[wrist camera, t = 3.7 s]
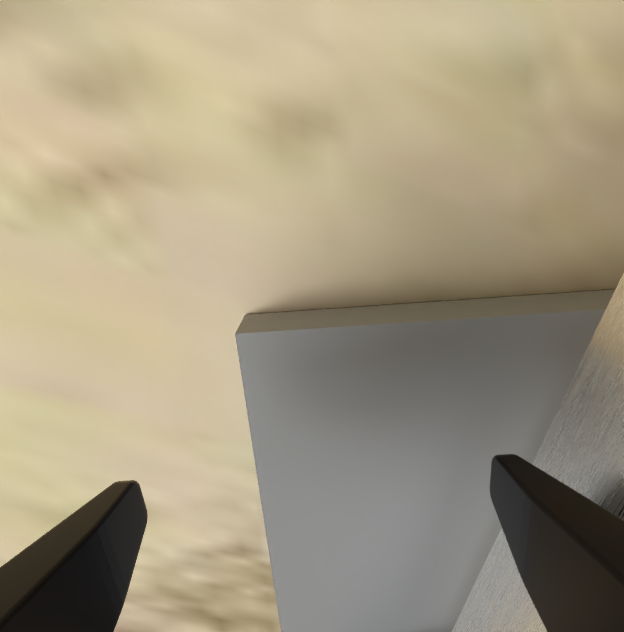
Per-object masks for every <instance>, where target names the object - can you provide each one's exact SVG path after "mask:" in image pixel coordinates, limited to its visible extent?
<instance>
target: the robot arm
mask: <svg viewBox="0 0 624 632" xmlns="http://www.w3.org/2000/svg"><path fill="white" fill-rule="evenodd" d="M490 496H491V500H492V503H493V505H494V508H495V511H496V513H497V516H498V519H499V521H500V524H501V526H502V529H503V532H504V534H505V537H506V540H507V542H508V545H509V548H510V550H511V553H512V556H513V558H514V561H515V563H516V566H517V569H518V571H519V574H520V576H521V578H522V581H523V583H524V585H525V587H526V589H527V592H528V594H529V596H530V598H531V600H532V602H533V604H534V606H535V608H536V610H537V612H538V614H539V616H540V618H541V620H542V622H543V624H544V626H545V628H546V630H547V632H624V520H622V519H621V518H619V517H618V516H616V515H614V514H613V513H611V512H609V511H608V510H606V509H605V508H603V507H601V506H600V505H598V504H596V503H595V502H593V501H591V500H590V499H588V498H587V497H585V496H583V495H582V494H580V493H578V492H577V491H575V490H573V489H572V488H570V487H569V486H567V485H565V484H564V483H562V482H560V481H559V480H557V479H555V478H554V477H552V476H551V475H549V474H547V473H546V472H544V471H542V470H541V469H539V468H537V467H536V466H534V465H533V464H531V463H529V462H528V461H526V460H524V459H523V458H521V457H519V456H518V455H515V454H502V455H495V456H494V457H493V459H492V462H491V476H490ZM146 524H147V509H146V506H145V502H144V499H143V495H142V492H141V488H140V485H139V483H138V482H137V481H134V480H130V481H118V482H115V483H113V484H112V485H111V486H109V487H108V488H107V489H105V490H104V491H102V492H101V493H100V494H98V495H97V496H96V497H94V498H93V499H92V500H90V501H89V502H88V503H86V504H85V505H84V506H82V507H81V508H80V509H78V510H77V511H76V512H74V513H73V514H72V515H70V516H69V517H68V518H66V519H65V520H63V521H62V522H61V523H59V524H58V525H57V526H55V527H54V528H53V529H51V530H50V531H49V532H47V533H46V534H45V535H43V536H42V537H41V538H39V539H38V540H37V541H35V542H34V543H33V544H31V545H30V546H28V547H27V548H26V549H24V550H23V551H22V552H20V553H19V554H18V555H16V556H15V557H14V558H12V559H11V560H10V561H8V562H7V563H6V564H4V565H3V566H2V567H0V632H113V631H114V629H115V626H116V624H117V621H118V618H119V616H120V613H121V610H122V607H123V605H124V601H125V598H126V595H127V592H128V588H129V585H130V581H131V577H132V574H133V570H134V567H135V563H136V560H137V556H138V553H139V549H140V545H141V542H142V538H143V535H144V531H145V528H146Z"/></svg>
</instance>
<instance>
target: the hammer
mask: <svg viewBox="0 0 624 632" xmlns="http://www.w3.org/2000/svg"><path fill="white" fill-rule="evenodd" d="M532 464H533V465H534V466H536V467H537V468H539V469H541V470H542V471H544V472H546V473H547V474H549V475H551V476H552V477H554V478H555V479H557V480H559V481H560V482H562V483H564V484H565V485H567V486H569V487H570V488H572V489H573V490H575V491H577V492H578V493H580V494H582V495H583V496H585V497H587V498H588V499H590V500H591V501H593V502H595V503H596V504H598V505H600V506H601V507H603V508H605V509H606V510H608V511H609V512H611V513H613V514H614V515H616V516H618V517H619V518H621V519H622V520H624V273H623V275H622V277H621V279H620V281H619V283H618V285H617V287H616V289H615V291H614V294H613V296H612V298H611V300H610V302H609V304H608V306H607V308H606V310H605V312H604V314H603V317H602V319H601V321H600V323H599V325H598V327H597V329H596V331H595V333H594V335H593V337H592V339H591V342H590V344H589V346H588V348H587V350H586V352H585V354H584V356H583V358H582V360H581V362H580V365H579V367H578V369H577V371H576V373H575V375H574V377H573V379H572V381H571V383H570V385H569V388H568V390H567V392H566V394H565V396H564V398H563V400H562V402H561V404H560V406H559V408H558V410H557V413H556V415H555V417H554V419H553V421H552V423H551V425H550V427H549V429H548V431H547V433H546V436H545V438H544V440H543V442H542V444H541V446H540V448H539V450H538V452H537V454H536V456H535V459H534V461H533V463H532ZM452 632H547V630H546V628H545V626H544V624H543V622H542V620H541V618H540V616H539V614H538V612H537V610H536V608H535V606H534V604H533V602H532V600H531V598H530V596H529V594H528V592H527V589H526V587H525V585H524V583H523V581H522V578H521V576H520V574H519V571H518V569H517V566H516V563H515V561H514V558H513V556H512V553H511V550H510V548H509V545H508V542H507V540H506V537H505V534H504V532H503V529H502V527H501V530H500V532H499V534H498V536H497V538H496V540H495V542H494V544H493V546H492V548H491V550H490V552H489V555H488V557H487V559H486V561H485V563H484V565H483V567H482V569H481V571H480V573H479V575H478V578H477V580H476V582H475V584H474V586H473V588H472V590H471V592H470V594H469V596H468V598H467V601H466V603H465V605H464V607H463V609H462V611H461V613H460V615H459V617H458V619H457V621H456V623H455V626H454V628H453V630H452Z"/></svg>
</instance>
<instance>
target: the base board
mask: <svg viewBox="0 0 624 632" xmlns="http://www.w3.org/2000/svg"><path fill="white" fill-rule="evenodd" d="M614 291H615V289H612V290H597V291H583V292H568V293H553V294H539V295H524V296H509V297H495V298H480V299H465V300H451V301H436V302H422V303H407V304H392V305H378V306H363V307H348V308H334V309H319V310H304V311H290V312H275V313H261V314H246V315H245V316H244V318H243V320H242V322H241V324H240V326H239V328H238V330H237V331H236V333H235V336H236V342H237V349H238V355H239V362H240V368H241V375H242V381H243V387H244V394H245V400H246V407H247V413H248V420H249V426H250V433H251V439H252V446H253V452H254V458H255V465H256V471H257V478H258V484H259V491H260V497H261V504H262V510H263V517H264V523H265V529H266V536H267V542H268V549H269V555H270V562H271V568H272V575H273V581H274V588H275V594H276V600H277V607H278V613H279V620H280V626H281V632H452V630H453V628H454V626H455V623H456V621H457V619H458V617H459V615H460V613H461V611H462V609H463V607H464V605H465V603H466V601H467V598H468V596H469V594H470V592H471V590H472V588H473V586H474V584H475V582H476V580H477V578H478V575H479V573H480V571H481V569H482V567H483V565H484V563H485V561H486V559H487V557H488V555H489V552H490V550H491V548H492V546H493V544H494V542H495V540H496V538H497V536H498V534H499V532H500V530H501V527H502V526H501V524H500V521H499V519H498V516H497V513H496V511H495V508H494V505H493V503H492V500H491V496H490V476H491V462H492V459H493V457H494V456H495V455H502V454H515V455H518V456H519V457H521V458H523V459H524V460H526V461H528V462H529V463H531V464H532V463H533V461H534V459H535V456H536V454H537V452H538V450H539V448H540V446H541V444H542V442H543V440H544V438H545V436H546V433H547V431H548V429H549V427H550V425H551V423H552V421H553V419H554V417H555V415H556V413H557V410H558V408H559V406H560V404H561V402H562V400H563V398H564V396H565V394H566V392H567V390H568V388H569V385H570V383H571V381H572V379H573V377H574V375H575V373H576V371H577V369H578V367H579V365H580V362H581V360H582V358H583V356H584V354H585V352H586V350H587V348H588V346H589V344H590V342H591V339H592V337H593V335H594V333H595V331H596V329H597V327H598V325H599V323H600V321H601V319H602V317H603V314H604V312H605V310H606V308H607V306H608V304H609V302H610V300H611V298H612V296H613V294H614Z"/></svg>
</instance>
